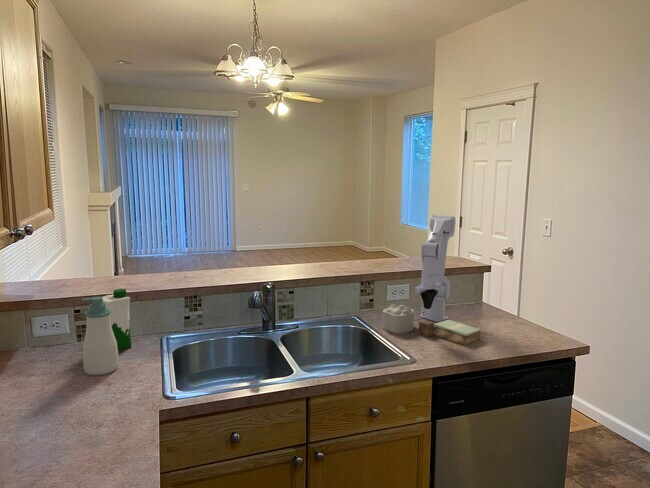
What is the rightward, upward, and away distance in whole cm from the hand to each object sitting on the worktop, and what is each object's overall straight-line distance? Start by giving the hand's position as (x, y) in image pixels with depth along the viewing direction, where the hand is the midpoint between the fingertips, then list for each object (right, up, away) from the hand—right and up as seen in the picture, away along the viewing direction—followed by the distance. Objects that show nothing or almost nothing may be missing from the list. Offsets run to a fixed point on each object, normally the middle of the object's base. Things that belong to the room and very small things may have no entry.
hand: (427, 308), depth 176 cm
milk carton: (-111, -11, -17) cm, 113 cm away
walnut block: (0, -10, +2) cm, 11 cm away
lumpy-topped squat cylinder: (-9, -9, +9) cm, 16 cm away
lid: (+11, -8, -1) cm, 13 cm away
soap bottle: (-108, -14, -34) cm, 114 cm away
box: (+11, -11, 0) cm, 15 cm away
